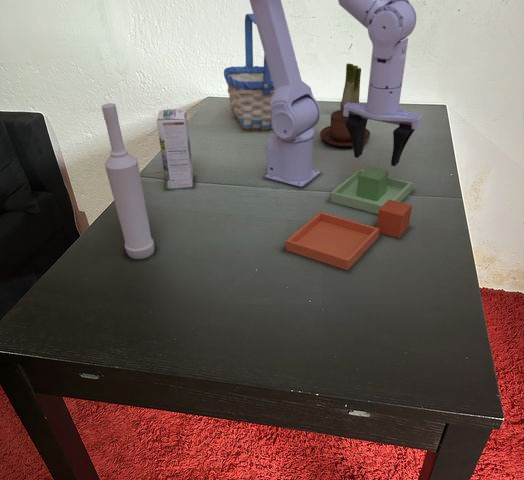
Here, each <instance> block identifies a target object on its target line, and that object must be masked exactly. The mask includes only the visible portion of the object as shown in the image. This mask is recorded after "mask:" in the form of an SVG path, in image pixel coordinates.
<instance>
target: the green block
mask: <svg viewBox="0 0 524 480" xmlns="http://www.w3.org/2000/svg"><path fill="white" fill-rule="evenodd" d="M362 171H363V172H361V173H360V174H359V175H358V185H357V196H358V197H362V198H366V199H370V200H373V201H378V200H379V199H380V198H381V197H382V196H383V195H384V194H385V193H386V190H387V182H388V177H389V174H390V171H389V170H385V169H381V168H376V167H371V166H367V167H366V168H365V169H364V170H362Z"/></svg>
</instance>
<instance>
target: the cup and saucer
mask: <svg viewBox="0 0 524 480" xmlns="http://www.w3.org/2000/svg"><path fill="white" fill-rule="evenodd" d="M343 111H344V110H341V109H339V110H335V111H332V112H331V113H330V125H328V126H325V127H324V128H323V129H321V130H320V133H319V135H320V138H321V140H323V141H324V142H326V143H327V144H329V145H332V146H336V147H353V144H352V140H351V137H350V134H349V132H348V130H347V128H346V125H345V122H346V121H347V120H348V118H349V117H346V116H343ZM370 137H371V132H370V130H369V129H368V128H366V129H365V134H364V143H366V141H368V140H369V139H370Z"/></svg>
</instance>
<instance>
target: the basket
mask: <svg viewBox="0 0 524 480" xmlns="http://www.w3.org/2000/svg"><path fill="white" fill-rule="evenodd" d="M253 24H254V25H256V21H255V18H254V14H253V13H246V14H245V16H244V47H245V48H244V49H245V54H244V55H245V65H243V66H230V67H225V68H224V70H223V76H224V80H225V82H226V85H227V94H229V95H228V96H229V97H228V99H229V102H230V103H229V106H230V109H231V113H232V114H233V115H234V117H236V121H237V123H238V124H240V125H241V127H242V129H243V130H249V129H260V130H263V131H264V130H265V131H268V130H273V128H272V124H271V118H272V112H271V108H270V102H271V99H272V97H273V94H274V91H275V89H274V85H273V82H272V78H271V75H270V71H269V67H268V64H267V60H266V57H265V53H264V52H263V66H259V65H255V66H254V49H253V48H254V45H253V44H254V43H253V41H254V37H253Z"/></svg>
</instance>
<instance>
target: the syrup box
mask: <svg viewBox="0 0 524 480" xmlns="http://www.w3.org/2000/svg"><path fill="white" fill-rule="evenodd" d="M187 115H188V113H187V109H182V108H181V109H180V108H170V109H161V110H158V115H157V117H156V118H157V119H156V127H157V132H158V139H159V140H158V141H159V147H160V152H161V153H160V154H161V160H162V166H163V167H162V168H163V173H164V179H165V187H166V189H167V190H174V189H175V190H176V189H186V188H188V189H189V188H193V187H194V167H193V158H192V151H191V150H192V149H191V141H190V133H189V131H190V130H189V124H188V116H187Z"/></svg>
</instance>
